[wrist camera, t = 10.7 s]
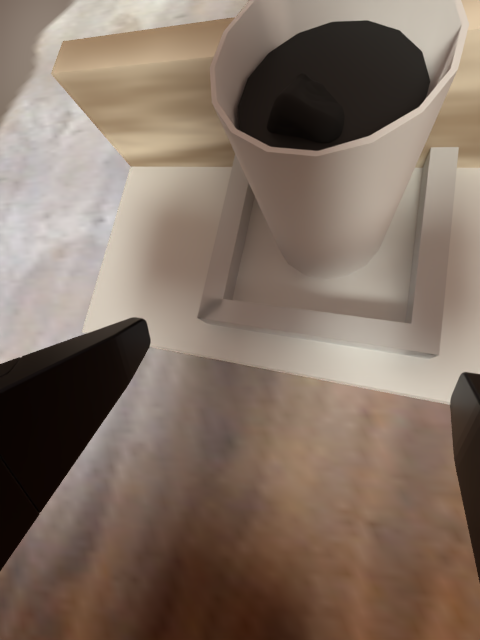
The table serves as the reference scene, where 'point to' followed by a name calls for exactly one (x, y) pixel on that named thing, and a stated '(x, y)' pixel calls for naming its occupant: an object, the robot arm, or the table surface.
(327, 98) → the white coffee cup
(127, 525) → the table surface
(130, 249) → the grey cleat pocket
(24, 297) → the table surface
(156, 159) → the ash wall board
